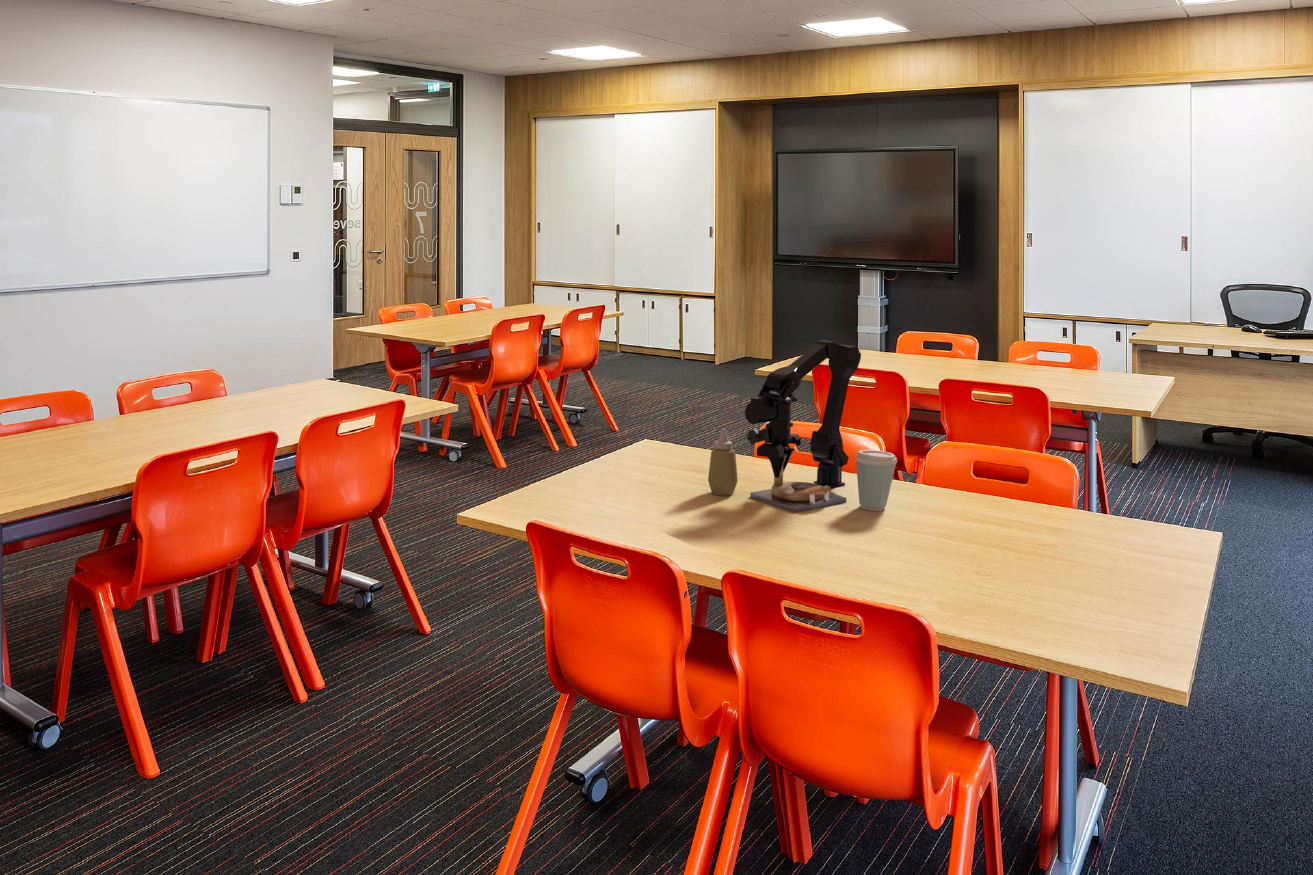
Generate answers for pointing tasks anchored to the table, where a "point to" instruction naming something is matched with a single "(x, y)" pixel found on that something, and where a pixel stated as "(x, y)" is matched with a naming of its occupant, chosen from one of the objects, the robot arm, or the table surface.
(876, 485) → the disposable coffee cup
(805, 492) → the cam dial
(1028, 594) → the table surface
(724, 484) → the squeeze bottle
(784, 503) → the level stand
